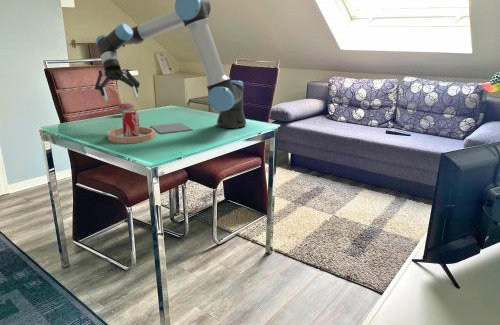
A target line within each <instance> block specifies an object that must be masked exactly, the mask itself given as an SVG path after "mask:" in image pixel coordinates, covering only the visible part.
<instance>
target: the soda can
mask: <svg viewBox="0 0 500 325" xmlns="http://www.w3.org/2000/svg"><path fill="white" fill-rule="evenodd" d="M139 120H140V118H139V113H138V112H137V110H136V109H134V110H124V111H123V114H122V113H121V122H122V127H123V133H122V134H123V137H135V136H141V135H140V134H141V132H140V129H139V127H140V121H139Z"/></svg>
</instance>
